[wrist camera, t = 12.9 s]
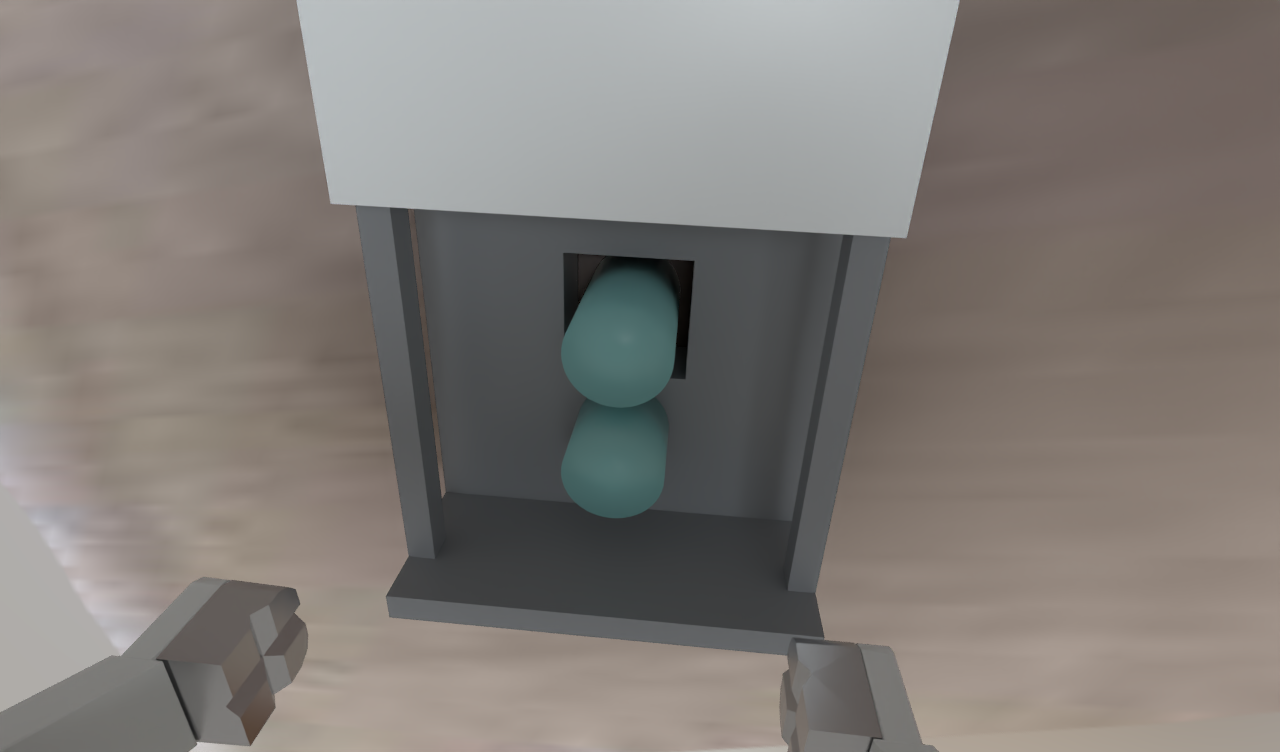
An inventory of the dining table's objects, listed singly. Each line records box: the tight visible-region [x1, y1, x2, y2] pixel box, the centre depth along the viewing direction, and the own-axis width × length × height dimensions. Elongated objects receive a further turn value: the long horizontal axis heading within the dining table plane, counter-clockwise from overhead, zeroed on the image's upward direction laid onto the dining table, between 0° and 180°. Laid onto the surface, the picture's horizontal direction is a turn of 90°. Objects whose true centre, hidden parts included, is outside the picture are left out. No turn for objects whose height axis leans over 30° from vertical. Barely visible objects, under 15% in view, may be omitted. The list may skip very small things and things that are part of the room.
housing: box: [355, 205, 891, 655], centre depth 20 cm, size 15×30×9 cm, turn 178°
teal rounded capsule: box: [561, 256, 680, 408], centre depth 24 cm, size 4×4×6 cm
